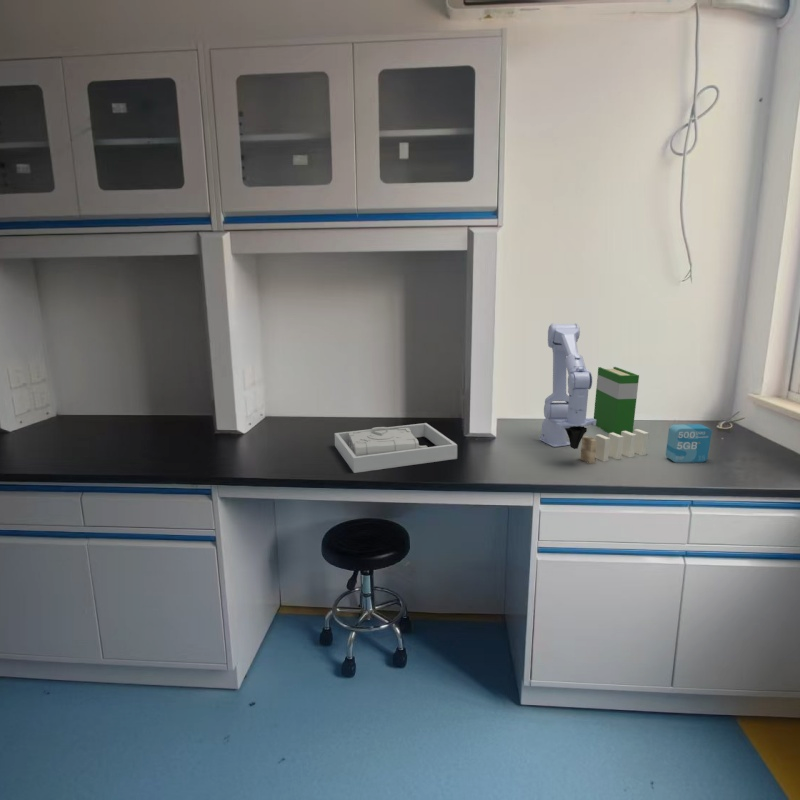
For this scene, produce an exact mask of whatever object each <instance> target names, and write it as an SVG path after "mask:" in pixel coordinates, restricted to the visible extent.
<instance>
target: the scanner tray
mask: <svg viewBox="0 0 800 800" xmlns="http://www.w3.org/2000/svg"><path fill="white" fill-rule="evenodd" d="M385 427H386V428H387V430H395V429H399V428H409V429H410V430H411V433H412V434H413V436H414V437H415V438H416V439H417V438H422V437H423V438H426V439H427V440H428V441H430V442H431V443H432V444H434V446H429V447H428V446H427V448H419V449H411V450H403V451H395V452H388V453H380V454H372V455H364V456H356V455H355V454H354V453H353V452H352V450H351V449H350V448H349V442H351V440H349V437H348V432H352V431H353V430H352V431H341V432H334V448H336V449H337V451H338V453H339V454H340V455H341V456H342V458H343V460H344V461H345V462H346V463H347V465H348V467H349V468H350V469H351V471H352V472H353V474H354V473H355V474H356V473H365V472H371V471H378V470H383V469H392V468H398V467H406V466H413V465H422V464H427V463H428V464H429V463H434V462H435V463H436V462H442V461H443V462H444V461H449V460H457V459H458V444H457V443H456V442H455V441H453V440H451V439H450V438H448V437H447V436H446V435H444V434H443V433H442V432H440V431H439V430H437V429H436V428H434V427H433V426H431V425H430V424H428V423H427V422H424V423H416V424H415V423H413V424H406V425H397V426H396V425H395V426H388V427H387V426H385ZM371 429H372V428H369V429H362V430H360V429H359V430H358V431H360V432H365V431H371Z"/></svg>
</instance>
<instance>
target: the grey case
mask: <svg viewBox="0 0 800 800" xmlns="http://www.w3.org/2000/svg"><path fill="white" fill-rule="evenodd" d="M386 427H387V426H377V427H372V428H370V429H371V431H365V432H360V431H359V430H352V432H350V431H347V432H348V437H349V440H351V442H349V446H348V447H349V448H350V449H351V450H352V452H353V453H354V454H355V455H356V456H364V455H372V454H380V453H388V452H395V451H403V450H411V449H419V448H427V447H428V445H426V444H425V445H420V443H419V440H418V439H417V437H416V438H415V437H414V436H413V434H412V433H411V430H410V429H409V428H399V429H395V430H387V428H386Z"/></svg>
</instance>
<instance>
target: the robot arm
mask: <svg viewBox="0 0 800 800" xmlns="http://www.w3.org/2000/svg"><path fill="white" fill-rule="evenodd" d="M580 328H581V327H580V326H579V324H578V323H550V325H549V326H548V330H547V345H548V347H549V348H551V350H552V393H551V394H550V395H547V397H546V398H545V399H544V406H543V415H544V419H543V421H542V424H541V436H540V438H539V441H542V442H543V443H546V444H547V445H549V446H552V447H553V448H559V447H564V446H565V447H566V446H570V448H571V449H574V450H575V449H578V448H579V446H580V443H581V442H582V437H584V436H585V434H586V433H587V432H588V430H587V429H588V428H587V426H596V419H594V417H593V418H592V417H590V418H587V410H588V401H589V400H588V399H589V398H588V396H589V390H591V389H592V385H593V375H592V372H591V371H590V370H589V369H587V367H586V364H585V361H584V358H583V355H581V354H579V351H578V344H577V343H578V340H579V338H580V336H581V335H580V334H581V331H580ZM567 374H568V375H567ZM567 393H568V394H567ZM568 440H569V441H568Z"/></svg>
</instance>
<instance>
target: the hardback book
mask: <svg viewBox="0 0 800 800" xmlns="http://www.w3.org/2000/svg"><path fill="white" fill-rule="evenodd" d="M596 376H597V378H596V379H597V380H596V389H595V398H594V411H593V419H596V425H595V426H596V427H597V428H600V430H602V431H603V432H606V433H607V434H609V433H616V434H618V435H621V431H628V432H631V433H634V426H635V425H634V424H635V418H636V417H635V414H636V406H637V396H638V389H639V379H640V374H636V373H633V372H631V371H628V370H626V369H623V368H619V367H617V366H613V368H603V367H601V366H600V367H598V368H597V375H596Z"/></svg>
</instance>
